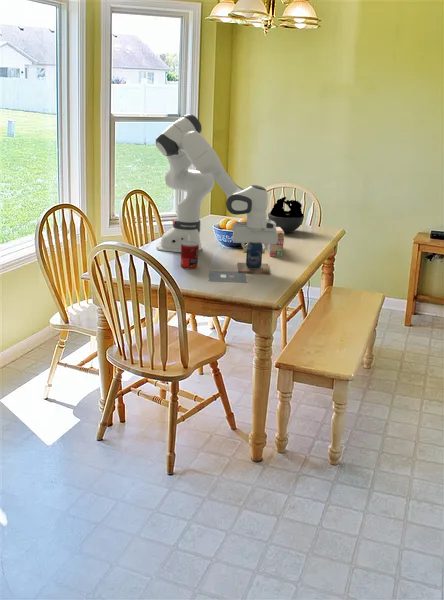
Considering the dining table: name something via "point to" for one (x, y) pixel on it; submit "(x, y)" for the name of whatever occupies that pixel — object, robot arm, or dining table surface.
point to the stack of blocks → (277, 245)
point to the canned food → (189, 254)
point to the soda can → (254, 255)
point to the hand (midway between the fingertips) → (254, 253)
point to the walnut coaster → (244, 269)
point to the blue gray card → (227, 276)
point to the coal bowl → (287, 215)
